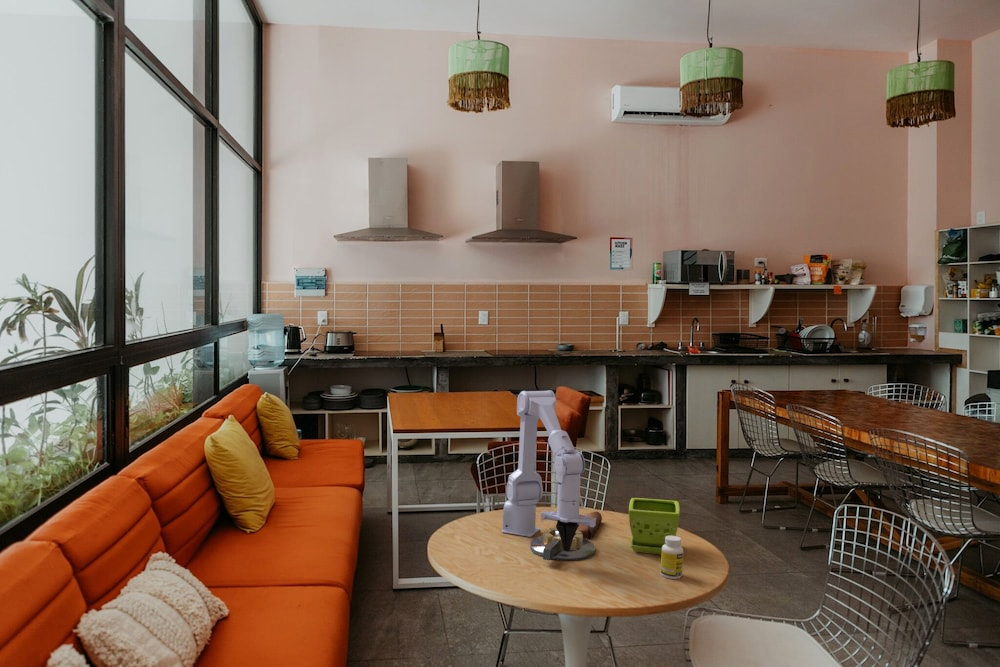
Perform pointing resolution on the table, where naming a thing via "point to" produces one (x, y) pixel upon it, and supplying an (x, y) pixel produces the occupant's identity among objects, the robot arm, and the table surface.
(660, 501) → the flower pot
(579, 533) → the gear with bar handle
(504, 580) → the table surface
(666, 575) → the supplement bottle
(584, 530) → the sunglasses case
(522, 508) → the robot arm
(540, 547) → the grey round disc
